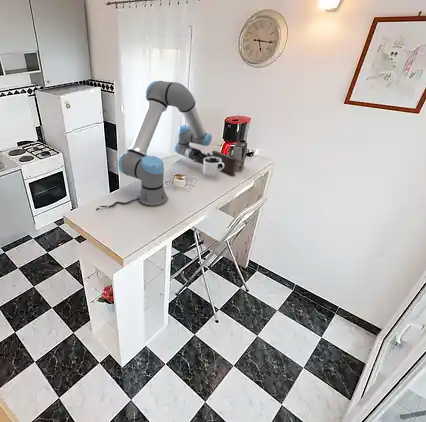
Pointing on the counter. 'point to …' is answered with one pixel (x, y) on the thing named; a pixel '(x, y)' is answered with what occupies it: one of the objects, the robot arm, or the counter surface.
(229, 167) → the wall board
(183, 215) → the counter surface
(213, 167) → the mug
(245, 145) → the coffee box
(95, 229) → the counter surface
